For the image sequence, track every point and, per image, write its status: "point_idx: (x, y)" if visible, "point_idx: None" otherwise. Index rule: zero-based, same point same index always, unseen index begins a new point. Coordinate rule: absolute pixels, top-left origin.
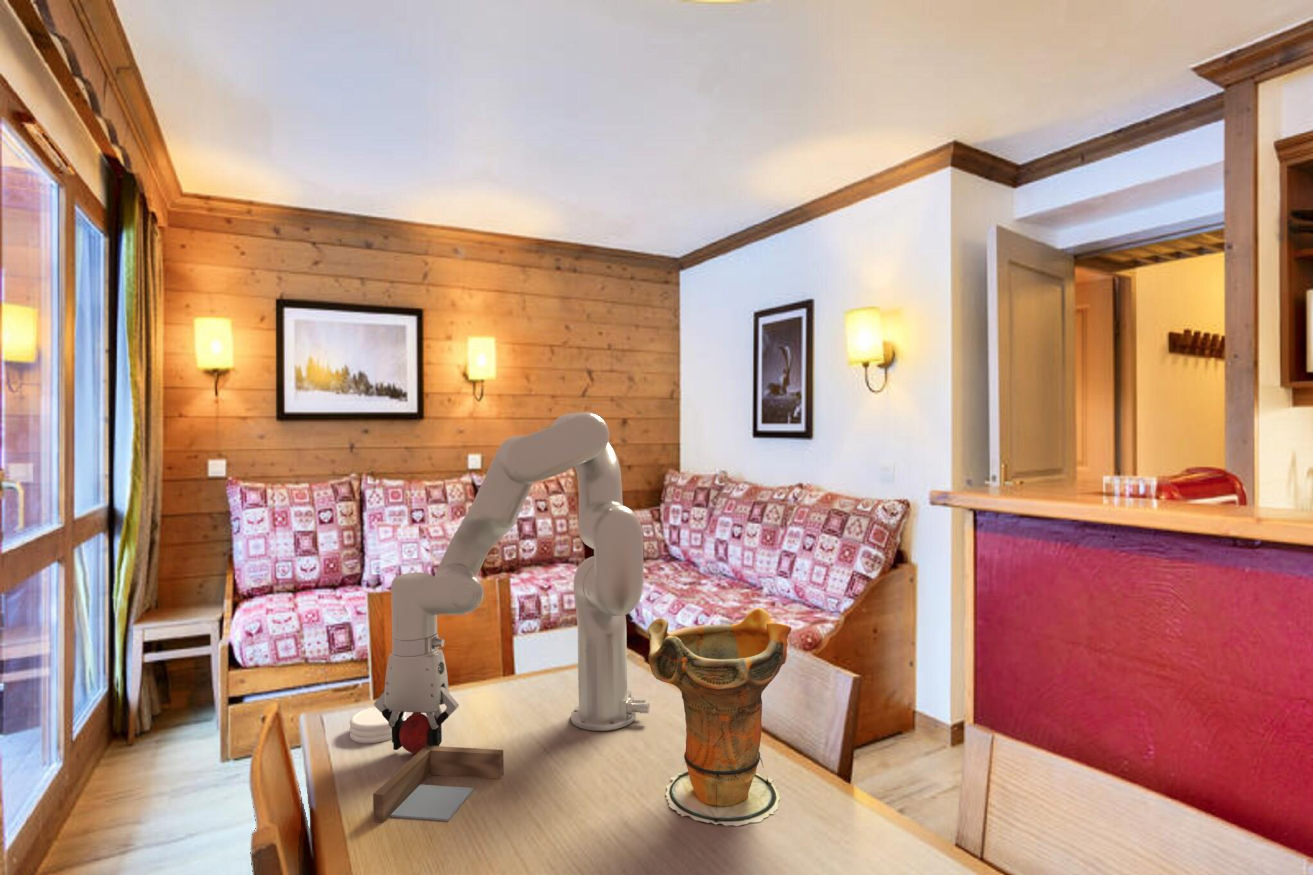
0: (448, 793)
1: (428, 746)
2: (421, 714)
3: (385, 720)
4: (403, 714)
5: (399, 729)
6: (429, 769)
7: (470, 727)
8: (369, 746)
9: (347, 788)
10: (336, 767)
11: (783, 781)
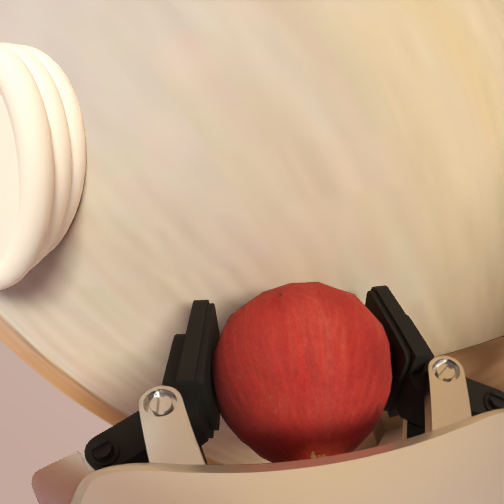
0: None
1: (396, 431)
2: (349, 449)
3: (2, 216)
4: (191, 427)
5: (215, 407)
6: None
7: (398, 10)
8: (59, 276)
9: (210, 447)
10: (98, 391)
11: None
